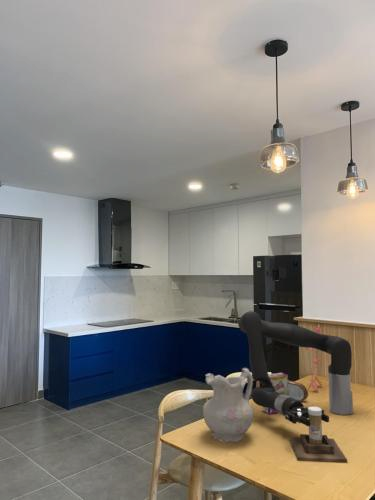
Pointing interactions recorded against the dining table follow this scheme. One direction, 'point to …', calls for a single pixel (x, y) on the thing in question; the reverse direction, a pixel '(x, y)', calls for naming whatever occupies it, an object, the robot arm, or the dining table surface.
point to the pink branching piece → (318, 330)
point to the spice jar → (315, 425)
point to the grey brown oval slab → (297, 391)
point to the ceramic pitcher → (229, 407)
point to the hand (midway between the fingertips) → (319, 421)
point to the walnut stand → (316, 449)
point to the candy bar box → (278, 387)
